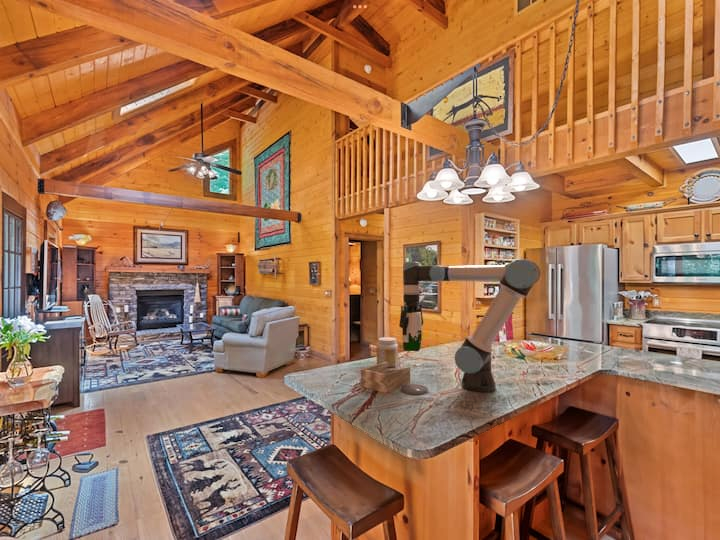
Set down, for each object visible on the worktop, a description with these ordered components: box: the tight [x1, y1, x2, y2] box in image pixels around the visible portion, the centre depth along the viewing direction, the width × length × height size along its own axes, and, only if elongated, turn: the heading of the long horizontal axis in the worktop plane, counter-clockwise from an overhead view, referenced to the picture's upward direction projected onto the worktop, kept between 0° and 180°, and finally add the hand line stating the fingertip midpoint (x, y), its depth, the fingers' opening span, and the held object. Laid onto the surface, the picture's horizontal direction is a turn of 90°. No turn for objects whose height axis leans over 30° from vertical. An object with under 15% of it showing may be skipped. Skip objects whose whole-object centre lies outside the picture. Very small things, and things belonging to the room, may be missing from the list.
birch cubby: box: [360, 362, 411, 394], centre depth 168 cm, size 15×20×8 cm
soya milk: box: [401, 312, 423, 352], centre depth 168 cm, size 9×9×20 cm
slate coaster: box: [400, 383, 429, 396], centre depth 159 cm, size 12×12×1 cm
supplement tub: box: [376, 336, 399, 372], centre depth 197 cm, size 12×12×17 cm
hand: (411, 340), depth 168 cm, fingers closed on soya milk, 9 cm apart
